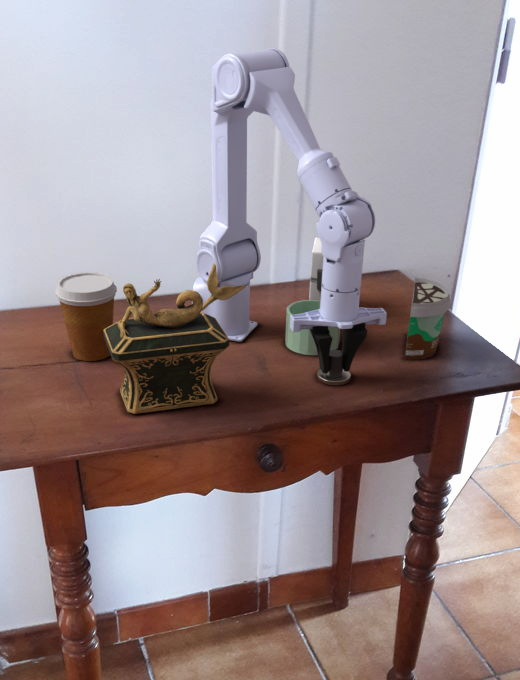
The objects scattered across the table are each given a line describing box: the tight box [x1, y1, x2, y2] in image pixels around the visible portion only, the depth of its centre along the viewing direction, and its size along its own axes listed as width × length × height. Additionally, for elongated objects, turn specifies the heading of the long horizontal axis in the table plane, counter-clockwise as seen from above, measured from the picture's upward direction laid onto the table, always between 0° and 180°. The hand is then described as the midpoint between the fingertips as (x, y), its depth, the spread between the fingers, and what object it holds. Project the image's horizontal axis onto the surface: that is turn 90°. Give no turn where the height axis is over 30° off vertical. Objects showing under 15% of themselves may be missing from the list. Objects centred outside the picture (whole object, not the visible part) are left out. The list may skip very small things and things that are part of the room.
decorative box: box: [103, 263, 246, 415], centre depth 122 cm, size 20×10×20 cm, turn 107°
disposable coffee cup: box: [54, 271, 118, 362], centre depth 136 cm, size 10×10×12 cm
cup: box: [284, 299, 341, 356], centre depth 142 cm, size 9×9×6 cm
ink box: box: [308, 236, 323, 300], centre depth 153 cm, size 9×5×12 cm, turn 172°
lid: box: [316, 349, 352, 386], centre depth 132 cm, size 5×5×4 cm
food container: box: [404, 277, 451, 360], centre depth 140 cm, size 12×6×10 cm, turn 168°
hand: (334, 369), depth 133 cm, fingers open, 3 cm apart
